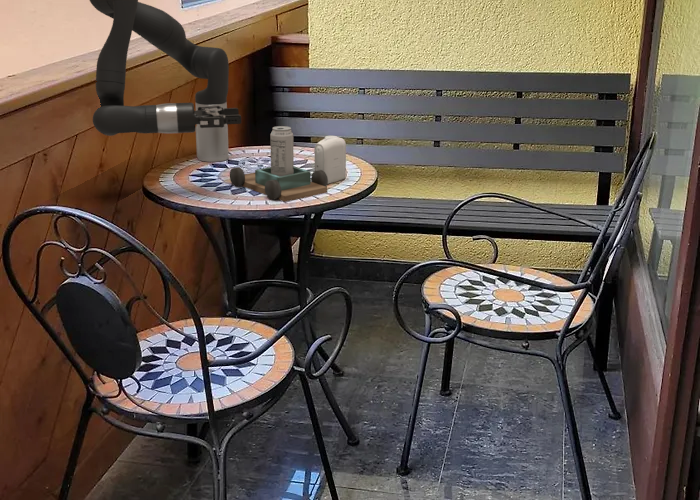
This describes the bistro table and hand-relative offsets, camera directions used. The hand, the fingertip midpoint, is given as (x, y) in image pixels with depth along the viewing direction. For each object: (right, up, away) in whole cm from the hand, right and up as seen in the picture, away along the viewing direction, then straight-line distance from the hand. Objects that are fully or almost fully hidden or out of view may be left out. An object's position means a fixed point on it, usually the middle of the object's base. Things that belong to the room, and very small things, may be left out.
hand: (239, 115), depth 208 cm
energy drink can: (+10, -17, +8) cm, 22 cm away
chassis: (+9, -18, +10) cm, 22 cm away
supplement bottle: (+23, -11, +30) cm, 39 cm away
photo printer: (+23, -16, +17) cm, 33 cm away
